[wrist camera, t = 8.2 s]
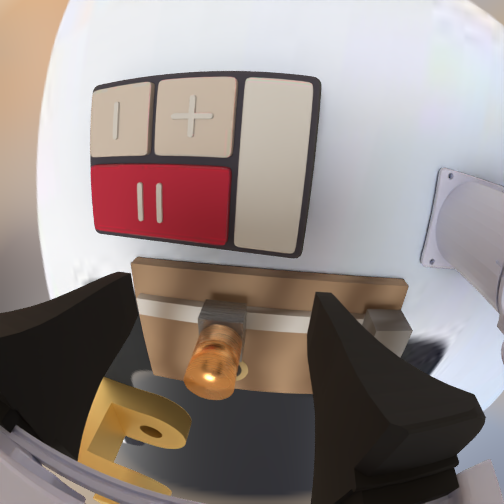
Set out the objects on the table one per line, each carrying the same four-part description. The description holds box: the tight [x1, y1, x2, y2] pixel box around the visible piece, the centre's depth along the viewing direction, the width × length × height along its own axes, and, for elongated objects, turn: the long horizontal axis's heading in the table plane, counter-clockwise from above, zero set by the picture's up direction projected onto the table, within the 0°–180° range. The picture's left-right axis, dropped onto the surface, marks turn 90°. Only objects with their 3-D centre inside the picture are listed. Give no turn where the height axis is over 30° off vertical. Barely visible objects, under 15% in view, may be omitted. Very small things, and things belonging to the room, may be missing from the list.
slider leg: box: [184, 299, 247, 400], centre depth 19 cm, size 3×9×7 cm, turn 177°
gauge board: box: [131, 257, 413, 394], centre depth 22 cm, size 22×13×5 cm, turn 87°
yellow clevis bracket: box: [77, 377, 192, 504], centre depth 24 cm, size 20×9×16 cm, turn 81°
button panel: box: [90, 71, 321, 258], centre depth 17 cm, size 11×4×15 cm
